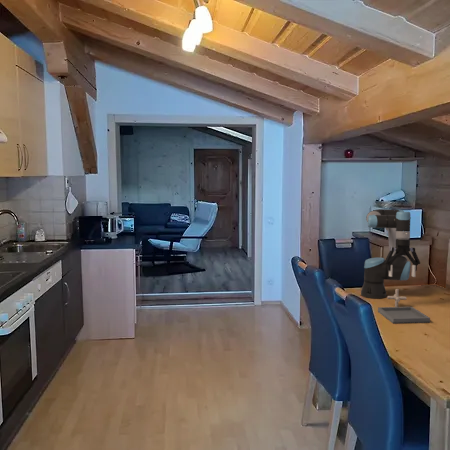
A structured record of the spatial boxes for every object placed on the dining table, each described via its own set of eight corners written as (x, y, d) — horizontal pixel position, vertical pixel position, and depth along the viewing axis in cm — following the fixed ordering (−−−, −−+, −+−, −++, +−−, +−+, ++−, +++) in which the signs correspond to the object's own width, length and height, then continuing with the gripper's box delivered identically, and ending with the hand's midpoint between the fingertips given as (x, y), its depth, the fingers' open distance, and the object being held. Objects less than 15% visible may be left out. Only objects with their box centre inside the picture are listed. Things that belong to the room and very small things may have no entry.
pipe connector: (407, 309, 256) (408, 292, 255) (388, 308, 258) (389, 291, 257) (404, 304, 266) (404, 287, 265) (386, 303, 268) (386, 286, 267)
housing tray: (377, 311, 253) (377, 307, 252) (411, 311, 254) (411, 306, 253) (393, 323, 233) (393, 318, 232) (429, 322, 234) (430, 317, 234)
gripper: (384, 238, 255) (383, 277, 255) (427, 239, 258) (426, 277, 258) (378, 238, 262) (377, 275, 262) (420, 239, 265) (419, 275, 265)
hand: (401, 276), depth 260 cm, fingers open, 13 cm apart
